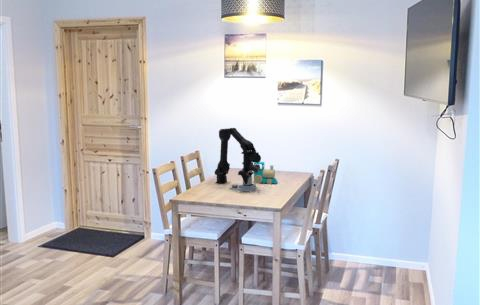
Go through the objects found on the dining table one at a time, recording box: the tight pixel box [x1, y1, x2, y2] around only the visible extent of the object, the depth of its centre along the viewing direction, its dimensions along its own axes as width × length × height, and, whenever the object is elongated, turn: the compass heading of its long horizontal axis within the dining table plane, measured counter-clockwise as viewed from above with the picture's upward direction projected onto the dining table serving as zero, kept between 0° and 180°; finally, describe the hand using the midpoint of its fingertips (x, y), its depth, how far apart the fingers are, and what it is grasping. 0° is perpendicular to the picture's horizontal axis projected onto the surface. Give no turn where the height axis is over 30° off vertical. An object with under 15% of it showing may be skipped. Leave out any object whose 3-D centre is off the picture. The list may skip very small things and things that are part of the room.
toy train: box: [253, 161, 278, 185], centre depth 338 cm, size 8×17×15 cm, turn 76°
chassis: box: [229, 183, 257, 193], centre depth 319 cm, size 15×11×3 cm
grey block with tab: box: [242, 175, 253, 186], centre depth 317 cm, size 5×4×7 cm
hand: (247, 183), depth 318 cm, fingers closed on grey block with tab, 4 cm apart
